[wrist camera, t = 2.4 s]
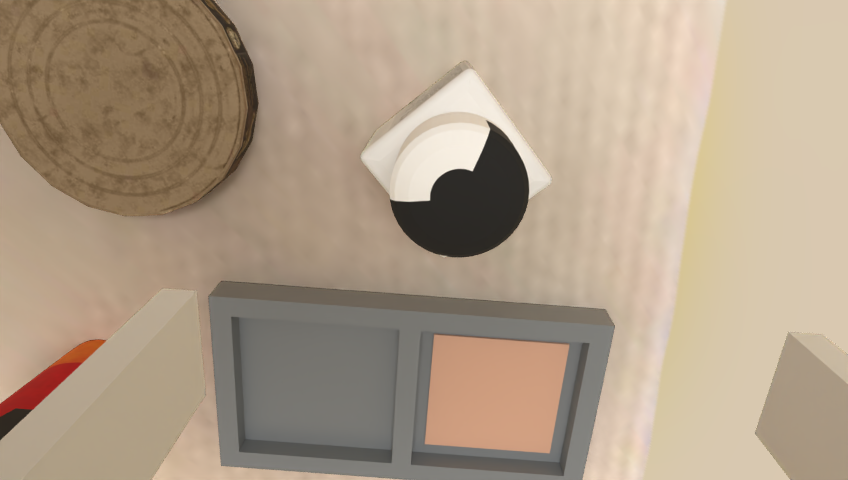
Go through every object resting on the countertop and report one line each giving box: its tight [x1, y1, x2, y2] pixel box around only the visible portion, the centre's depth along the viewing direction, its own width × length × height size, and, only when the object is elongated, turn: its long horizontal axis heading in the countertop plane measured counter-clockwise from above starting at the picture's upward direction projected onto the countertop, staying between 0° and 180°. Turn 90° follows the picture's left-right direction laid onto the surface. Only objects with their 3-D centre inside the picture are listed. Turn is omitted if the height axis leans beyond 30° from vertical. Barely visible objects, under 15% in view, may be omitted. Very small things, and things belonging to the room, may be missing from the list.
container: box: [361, 61, 552, 258], centre depth 32 cm, size 8×8×13 cm
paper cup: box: [0, 340, 106, 417], centre depth 39 cm, size 8×8×14 cm
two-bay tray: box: [209, 281, 615, 480], centre depth 44 cm, size 28×15×2 cm, turn 86°
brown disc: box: [0, 0, 258, 216], centre depth 36 cm, size 16×16×3 cm
